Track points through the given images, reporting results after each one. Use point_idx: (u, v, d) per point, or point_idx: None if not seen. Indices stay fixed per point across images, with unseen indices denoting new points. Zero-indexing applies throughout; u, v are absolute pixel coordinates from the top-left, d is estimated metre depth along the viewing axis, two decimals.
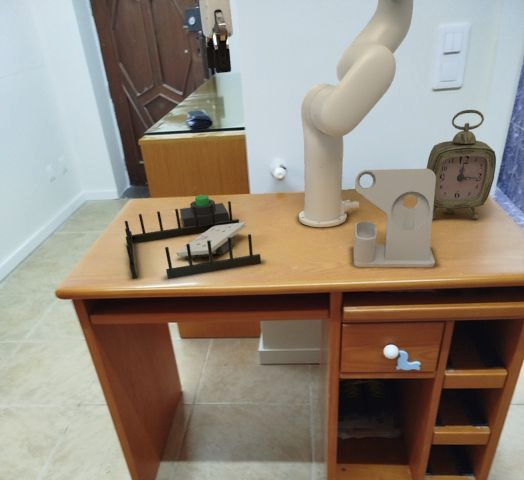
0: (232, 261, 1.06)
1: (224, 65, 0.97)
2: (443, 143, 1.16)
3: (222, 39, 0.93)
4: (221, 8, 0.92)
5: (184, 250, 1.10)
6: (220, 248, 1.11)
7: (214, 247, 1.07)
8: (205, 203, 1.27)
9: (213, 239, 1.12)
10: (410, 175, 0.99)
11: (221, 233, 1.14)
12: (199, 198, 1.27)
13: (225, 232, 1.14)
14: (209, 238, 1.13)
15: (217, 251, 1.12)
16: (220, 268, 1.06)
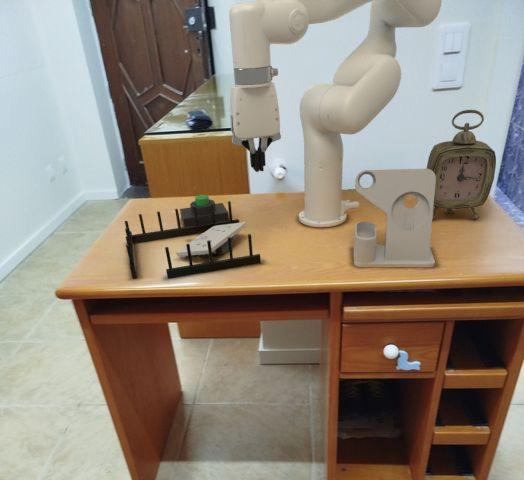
0: (232, 261, 1.06)
1: None
2: (443, 143, 1.16)
3: None
4: None
5: (184, 250, 1.10)
6: (220, 248, 1.11)
7: (214, 247, 1.07)
8: (205, 203, 1.27)
9: (213, 239, 1.12)
10: (410, 175, 0.99)
11: (221, 233, 1.14)
12: (199, 198, 1.27)
13: (225, 232, 1.14)
14: (209, 238, 1.13)
15: (217, 251, 1.12)
16: (220, 268, 1.06)
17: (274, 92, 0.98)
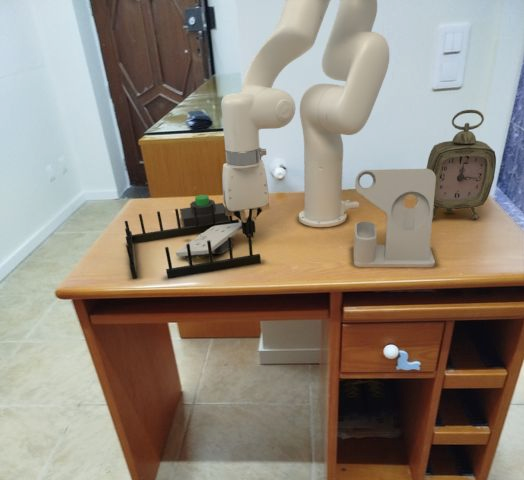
0: (232, 261, 1.06)
1: None
2: (443, 143, 1.16)
3: None
4: None
5: (183, 250, 1.10)
6: (219, 248, 1.11)
7: (213, 247, 1.07)
8: (205, 203, 1.27)
9: (212, 239, 1.12)
10: (410, 175, 0.99)
11: (220, 233, 1.14)
12: (199, 198, 1.27)
13: (224, 232, 1.14)
14: (208, 238, 1.13)
15: (216, 251, 1.12)
16: (220, 268, 1.06)
17: (263, 170, 1.06)
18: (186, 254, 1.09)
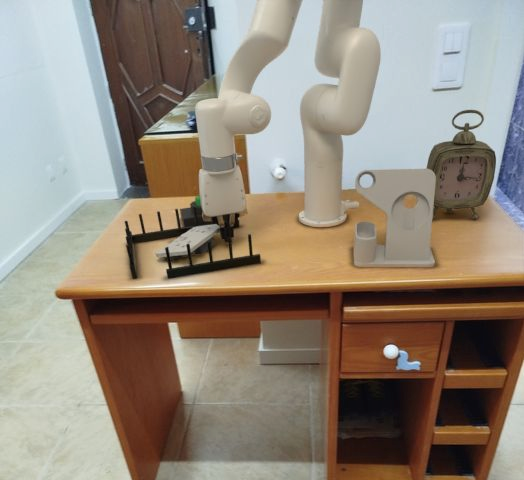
0: (232, 261, 1.06)
1: None
2: (443, 143, 1.16)
3: None
4: None
5: (163, 251, 1.10)
6: (199, 249, 1.12)
7: (193, 248, 1.07)
8: None
9: (192, 239, 1.12)
10: (410, 175, 0.99)
11: (201, 234, 1.14)
12: (199, 198, 1.27)
13: (204, 233, 1.14)
14: (188, 239, 1.13)
15: (196, 252, 1.13)
16: (220, 268, 1.06)
17: (239, 175, 1.06)
18: None
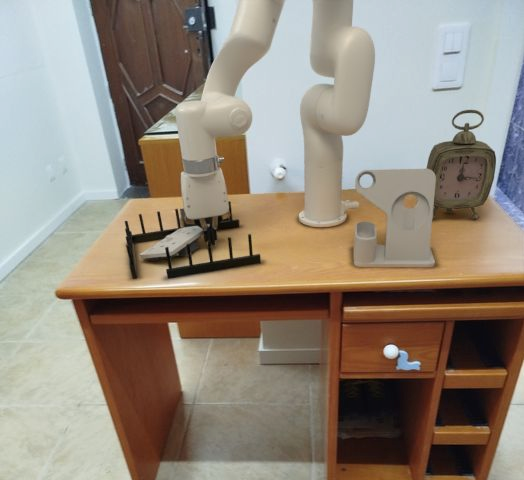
0: (232, 261, 1.06)
1: None
2: (443, 143, 1.16)
3: None
4: None
5: (147, 252, 1.10)
6: (184, 250, 1.12)
7: (176, 249, 1.07)
8: None
9: (177, 241, 1.12)
10: (410, 175, 0.99)
11: (186, 235, 1.14)
12: None
13: (189, 234, 1.14)
14: (173, 240, 1.13)
15: (181, 253, 1.12)
16: (220, 268, 1.06)
17: (221, 178, 1.05)
18: (150, 256, 1.09)
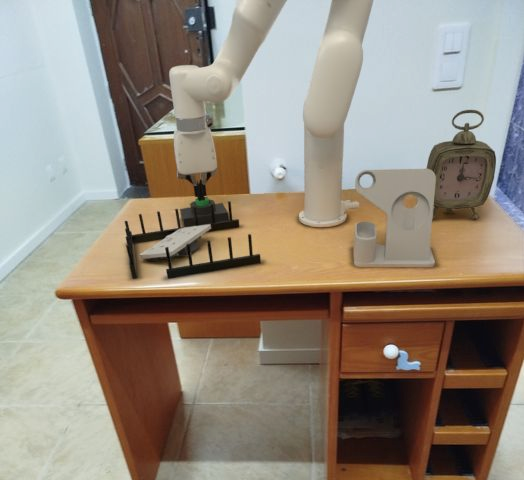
0: (232, 261, 1.06)
1: (205, 193, 1.27)
2: (443, 143, 1.16)
3: None
4: None
5: (147, 252, 1.10)
6: (184, 250, 1.12)
7: (176, 249, 1.07)
8: (205, 205, 1.27)
9: (177, 241, 1.12)
10: (410, 175, 0.99)
11: (186, 235, 1.14)
12: None
13: (189, 234, 1.14)
14: (173, 240, 1.13)
15: (181, 253, 1.12)
16: (220, 268, 1.06)
17: (210, 136, 1.18)
18: (150, 256, 1.09)
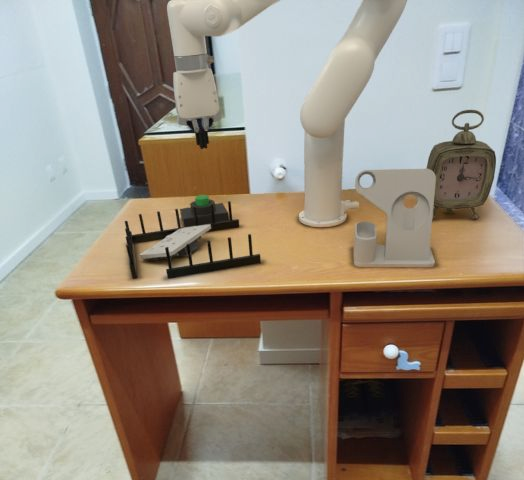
0: (232, 261, 1.06)
1: None
2: (443, 143, 1.16)
3: None
4: None
5: (147, 252, 1.10)
6: (184, 250, 1.12)
7: (176, 249, 1.07)
8: (205, 203, 1.27)
9: (177, 241, 1.12)
10: (410, 175, 0.99)
11: (186, 235, 1.14)
12: (199, 198, 1.27)
13: (189, 234, 1.14)
14: (173, 240, 1.13)
15: (181, 253, 1.12)
16: (220, 268, 1.06)
17: (211, 77, 1.12)
18: (150, 256, 1.09)
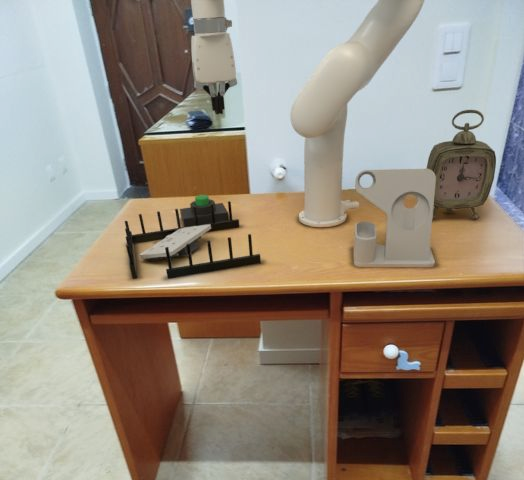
0: (232, 261, 1.06)
1: (223, 107, 1.23)
2: (443, 143, 1.16)
3: None
4: None
5: (147, 252, 1.10)
6: (184, 250, 1.12)
7: (176, 249, 1.07)
8: (205, 203, 1.27)
9: (177, 241, 1.12)
10: (410, 175, 0.99)
11: (186, 235, 1.14)
12: (199, 198, 1.27)
13: (189, 234, 1.14)
14: (173, 240, 1.13)
15: (181, 253, 1.12)
16: (220, 268, 1.06)
17: (229, 41, 1.13)
18: (150, 256, 1.09)
